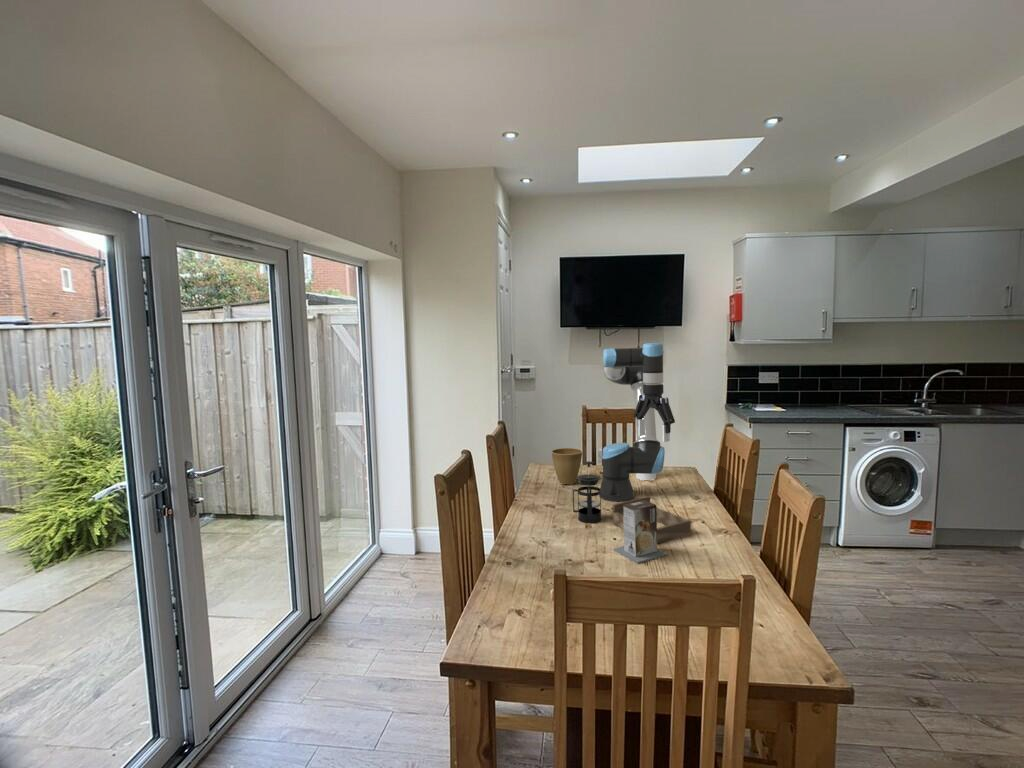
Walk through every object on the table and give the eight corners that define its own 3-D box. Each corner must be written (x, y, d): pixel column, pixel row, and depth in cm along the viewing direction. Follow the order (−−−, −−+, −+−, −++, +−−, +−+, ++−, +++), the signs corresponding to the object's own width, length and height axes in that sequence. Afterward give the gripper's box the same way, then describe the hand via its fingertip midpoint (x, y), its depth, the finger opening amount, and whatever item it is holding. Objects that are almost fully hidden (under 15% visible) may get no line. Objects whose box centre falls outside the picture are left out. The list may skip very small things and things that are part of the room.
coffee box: (645, 545, 181) (644, 499, 179) (657, 551, 175) (657, 504, 173) (623, 550, 177) (622, 504, 175) (635, 557, 171) (635, 509, 170)
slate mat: (613, 550, 179) (613, 548, 179) (641, 543, 184) (641, 541, 184) (637, 563, 168) (637, 561, 168) (666, 555, 174) (666, 553, 173)
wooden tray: (612, 524, 202) (612, 504, 201) (648, 516, 210) (647, 496, 209) (653, 544, 182) (653, 522, 182) (690, 534, 190) (690, 512, 189)
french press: (603, 515, 213) (602, 459, 211) (604, 523, 204) (602, 465, 201) (573, 514, 214) (572, 459, 212) (573, 523, 205) (571, 465, 203)
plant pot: (584, 487, 251) (584, 454, 250) (553, 488, 252) (552, 455, 250) (581, 478, 266) (580, 447, 265) (551, 479, 266) (550, 448, 265)
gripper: (684, 385, 193) (684, 442, 195) (639, 380, 215) (639, 432, 217) (669, 387, 189) (669, 445, 191) (624, 382, 211) (625, 434, 214)
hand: (653, 438), depth 204 cm, fingers open, 13 cm apart
